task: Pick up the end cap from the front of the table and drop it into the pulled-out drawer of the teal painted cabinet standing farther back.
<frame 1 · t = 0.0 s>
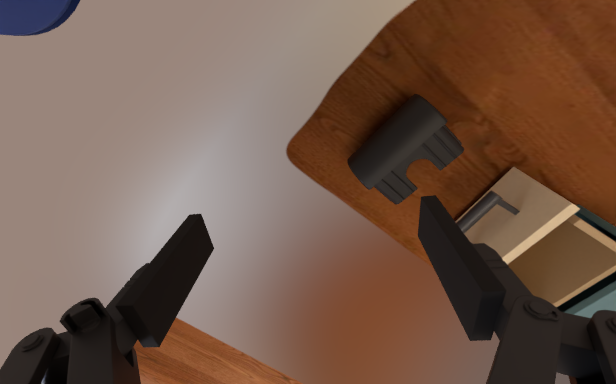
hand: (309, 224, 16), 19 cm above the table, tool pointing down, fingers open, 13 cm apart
cabinet: (560, 258, 40), on the table
drawer: (511, 238, 32), point 5 cm above the table, slide at 11.0 cm
end cap: (393, 140, 33), on the table
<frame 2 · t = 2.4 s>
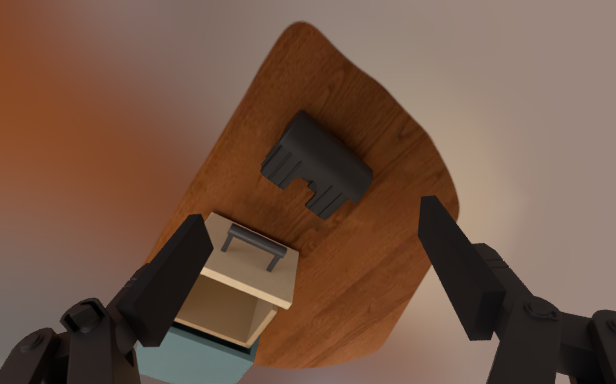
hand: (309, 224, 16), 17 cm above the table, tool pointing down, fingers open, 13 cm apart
cabinet: (216, 302, 46), on the table
drawer: (238, 272, 35), point 5 cm above the table, slide at 11.0 cm
end cap: (318, 153, 32), on the table
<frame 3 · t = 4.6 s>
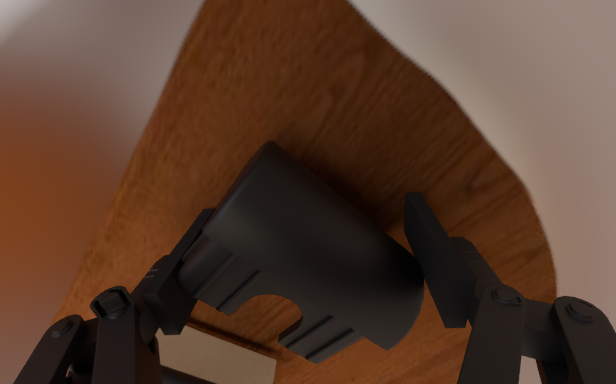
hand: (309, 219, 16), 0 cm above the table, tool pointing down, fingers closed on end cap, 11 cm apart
end cap: (308, 213, 17), on the table, touching gripper
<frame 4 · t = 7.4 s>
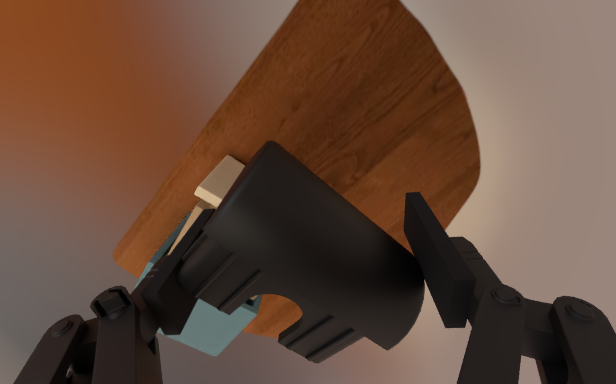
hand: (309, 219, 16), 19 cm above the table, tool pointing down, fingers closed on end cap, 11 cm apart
cabinet: (215, 259, 44), on the table
drawer: (250, 218, 33), point 5 cm above the table, slide at 11.0 cm
end cap: (308, 213, 17), point 18 cm above the table, touching gripper
when the fingers open (11 cm above the table, at t = 10.5 s): end cap stays where it is, resting on cabinet.
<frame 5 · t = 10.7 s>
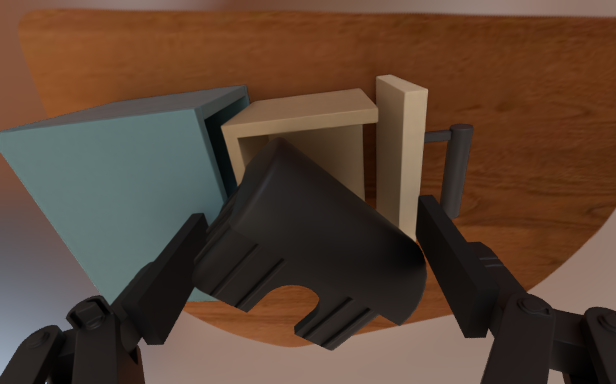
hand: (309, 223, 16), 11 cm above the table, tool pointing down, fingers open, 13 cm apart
cabinet: (203, 167, 27), on the table
drawer: (354, 176, 21), point 5 cm above the table, slide at 11.0 cm
end cap: (307, 208, 18), point 10 cm above the table, touching cabinet, gripper
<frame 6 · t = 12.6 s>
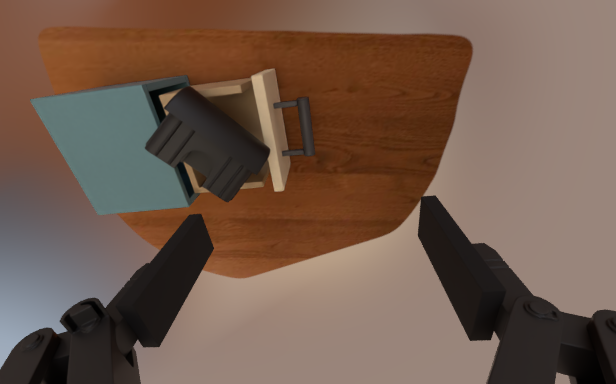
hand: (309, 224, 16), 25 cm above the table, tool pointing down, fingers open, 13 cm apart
cabinet: (163, 132, 40), on the table
drawer: (251, 131, 34), point 5 cm above the table, slide at 11.0 cm, touching end cap
end cap: (214, 144, 31), point 9 cm above the table, touching cabinet, drawer
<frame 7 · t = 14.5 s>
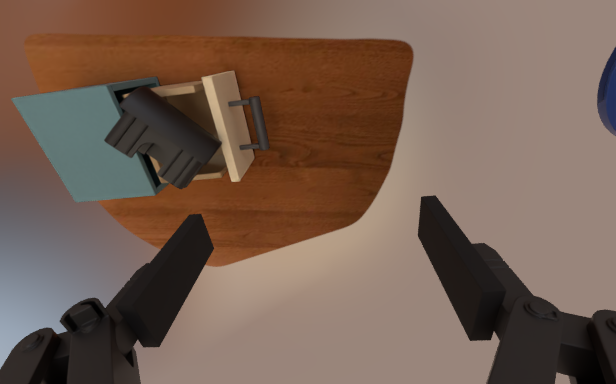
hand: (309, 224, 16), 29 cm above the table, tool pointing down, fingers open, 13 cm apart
cabinet: (138, 129, 44), on the table
drawer: (212, 127, 38), point 5 cm above the table, slide at 11.0 cm, touching end cap
end cap: (175, 138, 35), point 9 cm above the table, touching cabinet, drawer
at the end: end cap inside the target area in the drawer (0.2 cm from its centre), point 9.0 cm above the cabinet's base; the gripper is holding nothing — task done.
